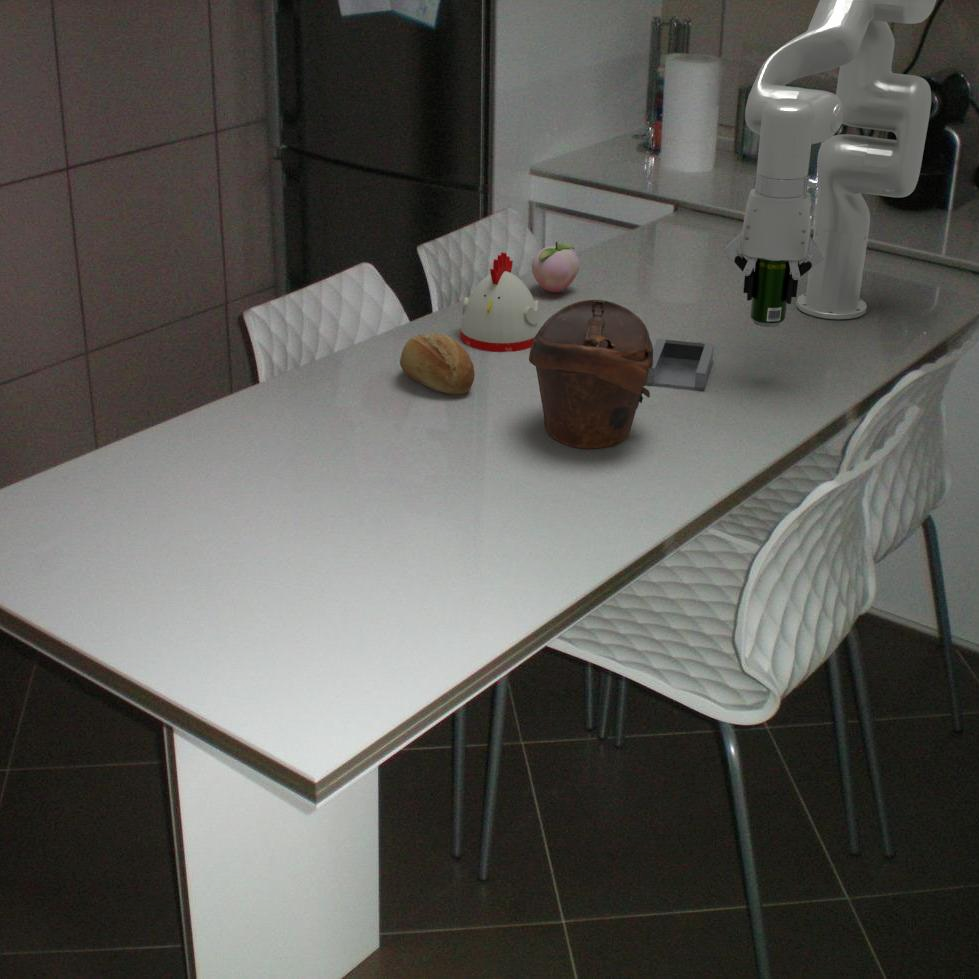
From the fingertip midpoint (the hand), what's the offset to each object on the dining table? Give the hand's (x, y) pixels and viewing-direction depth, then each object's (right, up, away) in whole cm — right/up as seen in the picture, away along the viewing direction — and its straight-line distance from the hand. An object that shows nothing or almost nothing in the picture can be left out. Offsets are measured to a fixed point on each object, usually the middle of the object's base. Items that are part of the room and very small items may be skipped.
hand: (769, 298), depth 214 cm
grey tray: (-13, -11, +11) cm, 20 cm away
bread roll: (-52, -13, +6) cm, 54 cm away
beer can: (0, -3, +3) cm, 4 cm away
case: (-29, -21, -9) cm, 37 cm away
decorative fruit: (-32, +7, +45) cm, 56 cm away
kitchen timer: (-42, -4, +25) cm, 49 cm away
